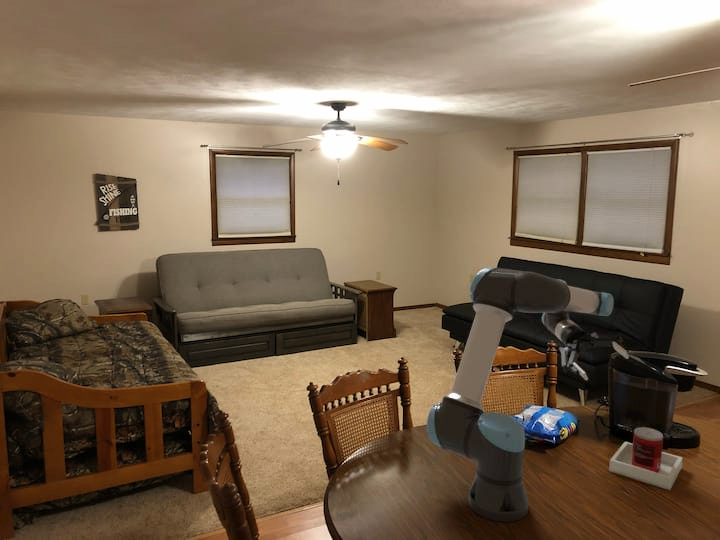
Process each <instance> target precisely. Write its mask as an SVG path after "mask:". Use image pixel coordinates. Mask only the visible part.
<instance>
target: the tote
mask: <svg viewBox="0 0 720 540" xmlns="http://www.w3.org/2000/svg"><path fill="white" fill-rule="evenodd" d="M632 450H633V442H632V443H631V442H629V441H624V442H623V443H622V444H621V446H620V447H619V448H618V449H617V451H616V452H615V453H614V455H613V456H611V458H610V459H609V466H608V468H609V469H608V471H609V472H611V473H614V474H616V475H620V476H624V477H626V478H630V479H633V480H636V481H639V482H643V483H646V484H648V485H650V486H651V485H652V486H655V487H657V488H658V487H659V488H662V489H665V490H667V491H672V488H673V486H674V484H675V482H676V480H677V478H678V476H679V474H680V472H681V470H682V467H683V460H684V459H683V457H682V456H680V455H674V454H671V453H668V452H664V451H662V456H661V466H660V470H659V472H658V473H657V472H653V471H650V470H647V469H643V468H640V467H637V466H633V465H632Z"/></svg>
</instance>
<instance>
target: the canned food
mask: <svg viewBox="0 0 720 540" xmlns="http://www.w3.org/2000/svg"><path fill="white" fill-rule="evenodd" d="M633 431H634V432H633V440H632V444H633V450H632V465H633V466H637V467H640V468H643V469H647V470H650V471H653V472H657V473H658V472H659V470H660V466H661V456H662V452H663V445H664V435H663V433H662V432H660V431H659V430H657V429H655V428H651V427H646V426H642V427H641V426H640V427H636V428H635V429H634V430H633Z"/></svg>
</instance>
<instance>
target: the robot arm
mask: <svg viewBox="0 0 720 540" xmlns="http://www.w3.org/2000/svg"><path fill="white" fill-rule="evenodd" d="M469 288H470V289H469V291H470V293H469V298H470V300H471V302H472V303H473V305H472V308H473V310H474V312H475V316H474V319H473V322H472V325H471V329H470V331H469V335H468V337H467V340H466V344H465V347H464V350H463V353H462V356H461V360H460V362H459V365H458V369H457V372H456V374H455V377H454V381H453V385H452V387H451V390H450V392H449V393H447V394H445V395H443V397H442V401H439V402H436V403H435V404H433V406H432V407H431V408H430V409H429V412H428V415H427V419H426V431H427V435H428V438H429V440H430V441H431V442H432V444H433V445H435V446H438V447H439V448H441V449H442V450H445V451H448V452H450V453H451V452H452V453H453V454H457V455H459V456H461V457H464V458H466V459H469V460H472V461H474V462H476V472H475V473H476V474H475V475H474V479H473V481H472V483H471V486H470V489H469V491H468V505H469V507H470V508H471V509H472V511H473V512H475V513H476V514H477V515H479V516H480V517H483V518H484V519H488V520H492V521H495V522H503V523H506V522H507V523H508V522H515V521H519V520H521V519H523V518H524V517H526V516H527V514H528V513H529V512H528V511H529V499H528V495H527V491H526V488H525V485H524V482H523V476H524V460H525V459H524V456H525V446H526V437H525V435H526V434H525V430H524V429H525V428H524V427H523V425H522V424H521V422H520V421H518V420H517V418H516V419H515V418H514V417H512V416H511V415H507V414H505V413H501V412H495V411H486V412H485V408H484V407H483V405H482V400H483V397H484V394H485V389H486V388H487V387H486V386H487V382H488V380H489V377H490V375H491V370H492V367H493V364H494V360H495V358H496V354H497V351H498V348H499V345H500V341H501V338H502V334H503V332H504V328H505V325H506V323H507V322H509V321H511V320H513V318H514V315H515V312H519V313H526V314H527V313H529V314H539V313H540V314H542V316H541V322H542V324H543V325H544V327H545V328H546V329H547V330H548V331H550V332H551V333H552V334H553V335H554V336H555V337H557V339H558V340H560V341H561V342H562V343H563V345H565V347H561V346H560V347H559V348H558V349H559V352H560V354H561V355H560V356H561V367H562V369H563V372H564V373H568V372H569V371H570V372H571V373H574V374H575V375H576V376H578V375H579V376H581V377H582V378H583V380H585V381H588V380H589V377H588V375H587V373H586V371H585V370H583V369H582V367H580V366H579V365H578V363H577V362H578V358H579V357H580V354H581V353H584V352H585V351H587V350H589V349H591V348H598V347H601V348H602V347H604V348H605V347H606V348H608V347H609V348H610V347H611V348H613V349H614V350H615V351H616V352H617V353H619V354H620V355H621V356H622V357H624V358H625V359H626V360H628V359H629V358H630V356H629V354H628V351H627V350H626V349H625V347H624V344H622V343H623V342H624V340H623V338H622V336H621V334H615V333H611V332H606V331H600V330H599V329H596V328H595V329H593V330H592V331H593V332H592V333H587V332H586V331H585V330H584V329H582V328H581V327H580V326H579V325H578V324H576V323H575V322H574V321H573V320H572V319H571V318H570V315H569V312H574V313H580V314H581V313H582V314H589V315H594V316H600V317H601V316H603V317H608V316H610V315H611V314H612V312H613V310H614V305H615V304H614V303H615V301H614V297H613V295H612V294H611V293H609V292H608V293H607V292H604V291H600V292H599V291H595V290H589V289H587V288H586V289H585V288H581V287H577V286H571V285H568V284H567V282H566V281H565V280H563V279H560V278H559V279H558V278H557V279H556V278H552V277H549V276H546V275H544V274H541V273H537V272H534V271H528V270H527V271H523V270H516V269H510V268H509V269H508V268H501V267H484V268H482V269H481V270H479V271H478V272H476V274H475V276H474V277H473V278H472V281H471V284H470V287H469ZM569 352H570V356H569V358H568V355H569Z"/></svg>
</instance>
